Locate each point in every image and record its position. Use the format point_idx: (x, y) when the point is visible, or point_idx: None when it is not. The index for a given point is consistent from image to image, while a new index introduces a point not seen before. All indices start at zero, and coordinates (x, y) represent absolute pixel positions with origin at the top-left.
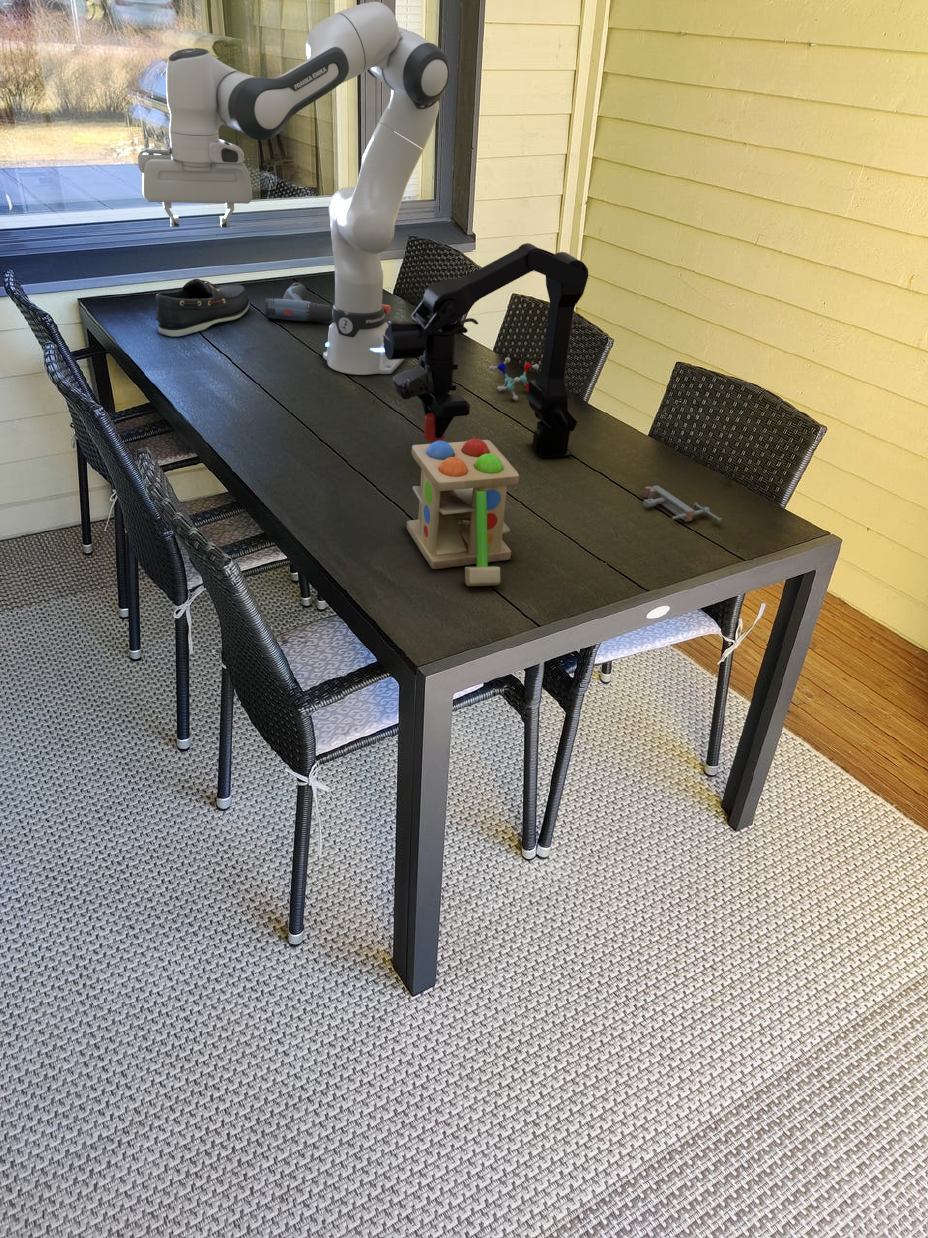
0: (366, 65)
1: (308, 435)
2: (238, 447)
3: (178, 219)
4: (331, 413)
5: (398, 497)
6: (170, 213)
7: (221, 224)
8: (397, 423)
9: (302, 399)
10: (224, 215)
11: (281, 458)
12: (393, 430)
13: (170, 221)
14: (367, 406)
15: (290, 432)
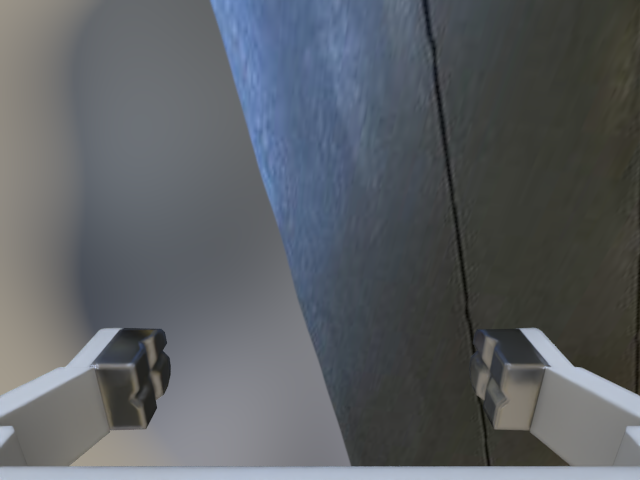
0: None
1: (453, 294)
2: (339, 319)
3: (149, 420)
4: (524, 216)
5: (501, 462)
6: (64, 463)
7: (475, 389)
8: (615, 270)
9: (496, 144)
10: (549, 371)
11: (392, 358)
12: (594, 294)
13: (93, 341)
14: (602, 193)
15: (429, 281)
